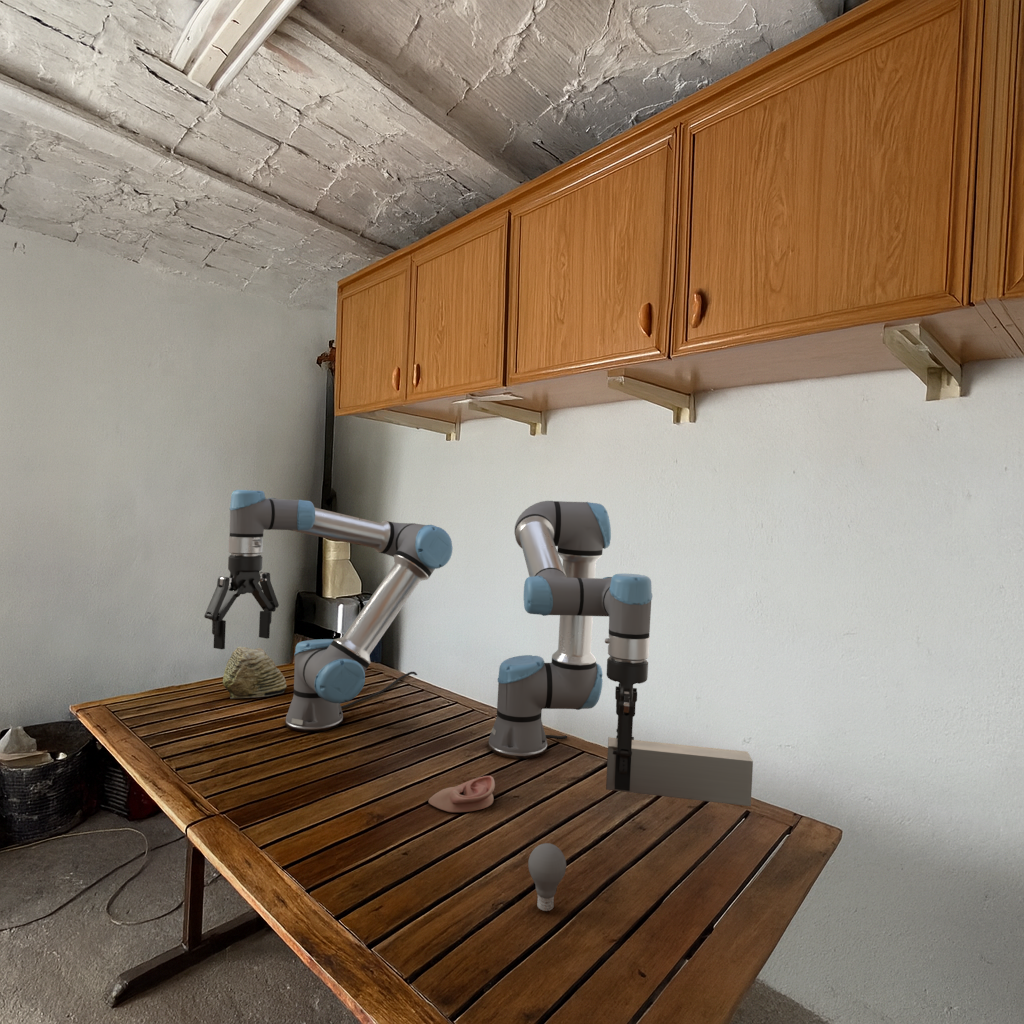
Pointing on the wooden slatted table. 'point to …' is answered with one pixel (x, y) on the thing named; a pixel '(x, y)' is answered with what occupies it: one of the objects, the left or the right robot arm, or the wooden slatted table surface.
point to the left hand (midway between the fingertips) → (242, 643)
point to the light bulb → (546, 873)
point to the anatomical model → (465, 796)
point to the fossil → (252, 674)
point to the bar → (686, 772)
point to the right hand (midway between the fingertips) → (621, 782)
